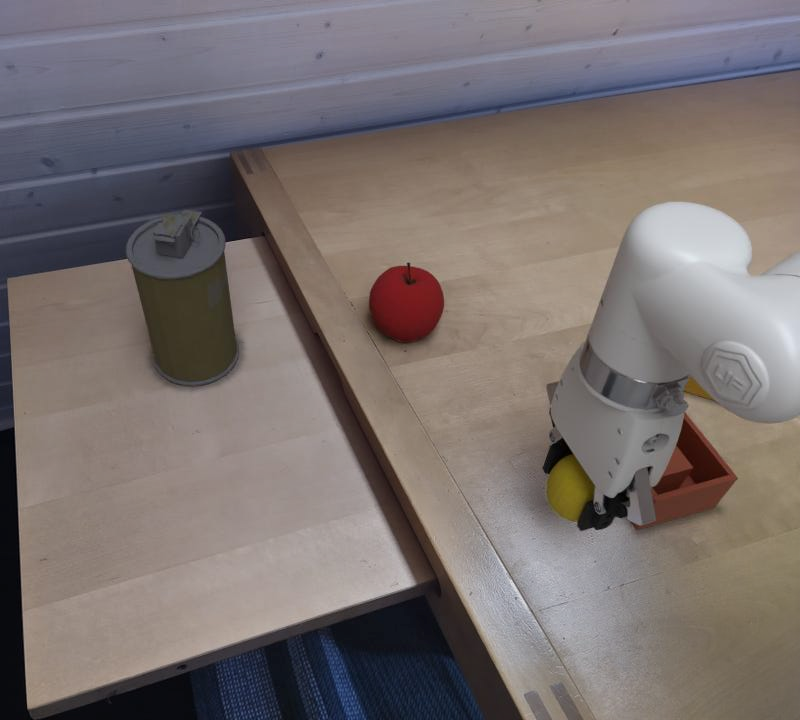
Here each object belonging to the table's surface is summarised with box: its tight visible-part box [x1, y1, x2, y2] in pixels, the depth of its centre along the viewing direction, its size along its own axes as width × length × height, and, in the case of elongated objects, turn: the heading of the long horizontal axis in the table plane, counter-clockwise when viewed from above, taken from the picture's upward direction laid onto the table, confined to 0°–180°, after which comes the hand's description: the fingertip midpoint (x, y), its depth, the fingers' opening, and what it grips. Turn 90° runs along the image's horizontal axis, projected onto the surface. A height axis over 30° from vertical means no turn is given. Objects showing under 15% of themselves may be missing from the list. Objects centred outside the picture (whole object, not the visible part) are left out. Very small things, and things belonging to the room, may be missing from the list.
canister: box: [125, 209, 240, 387], centre depth 81 cm, size 11×10×20 cm
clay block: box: [653, 446, 693, 495], centre depth 74 cm, size 4×4×4 cm
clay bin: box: [631, 412, 739, 531], centre depth 73 cm, size 9×9×6 cm
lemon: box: [545, 454, 595, 523], centre depth 65 cm, size 6×6×8 cm
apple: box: [368, 262, 445, 343], centre depth 87 cm, size 9×9×10 cm
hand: (575, 494), depth 66 cm, fingers closed on lemon, 5 cm apart
